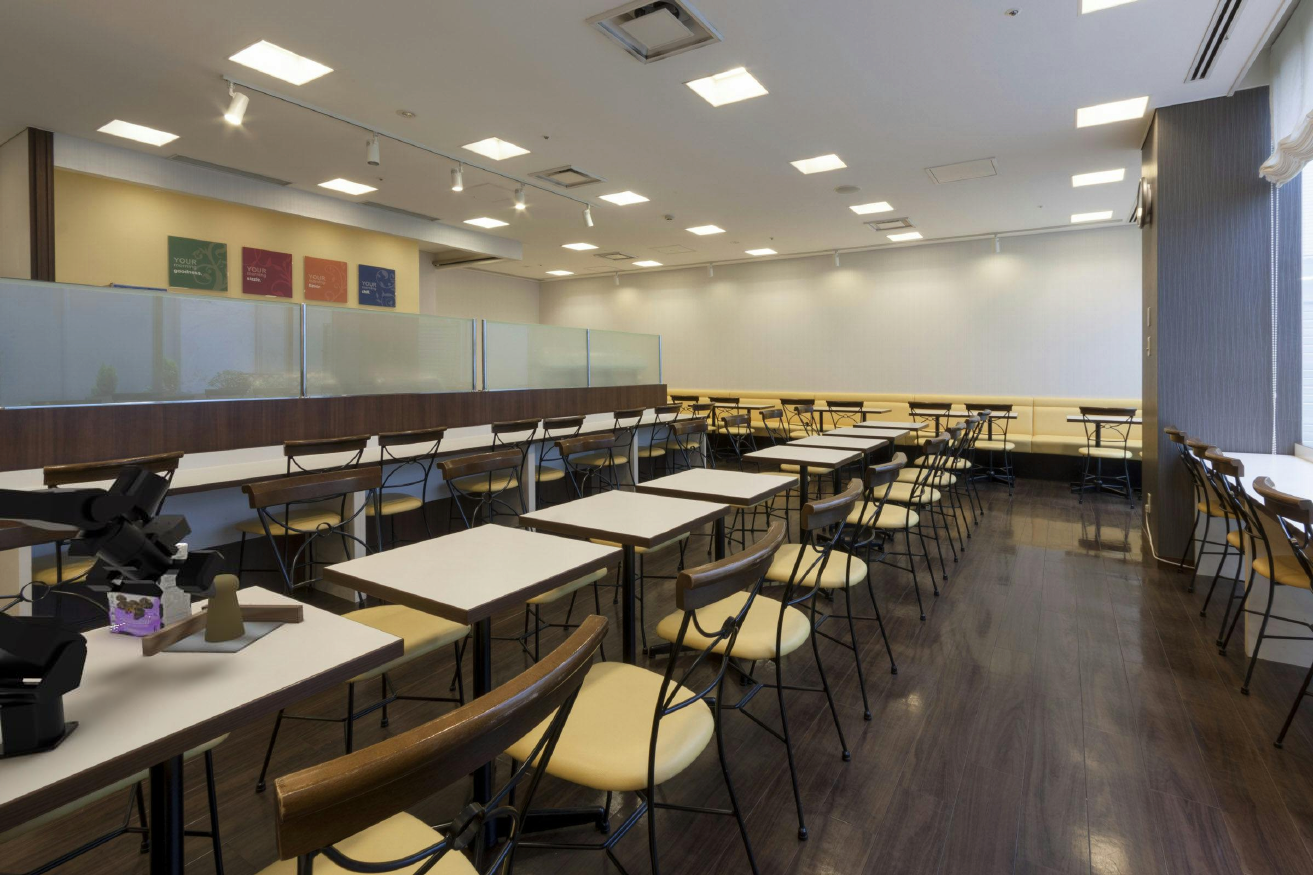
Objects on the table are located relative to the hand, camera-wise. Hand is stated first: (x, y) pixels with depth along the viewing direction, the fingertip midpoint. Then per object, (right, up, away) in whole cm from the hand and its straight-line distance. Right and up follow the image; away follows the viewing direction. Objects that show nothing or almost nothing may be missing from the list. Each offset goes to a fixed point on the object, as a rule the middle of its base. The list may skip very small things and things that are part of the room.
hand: (187, 594), depth 105 cm
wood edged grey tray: (+1, -10, +9) cm, 13 cm away
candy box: (-16, -10, +12) cm, 22 cm away
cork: (0, -10, +8) cm, 13 cm away
